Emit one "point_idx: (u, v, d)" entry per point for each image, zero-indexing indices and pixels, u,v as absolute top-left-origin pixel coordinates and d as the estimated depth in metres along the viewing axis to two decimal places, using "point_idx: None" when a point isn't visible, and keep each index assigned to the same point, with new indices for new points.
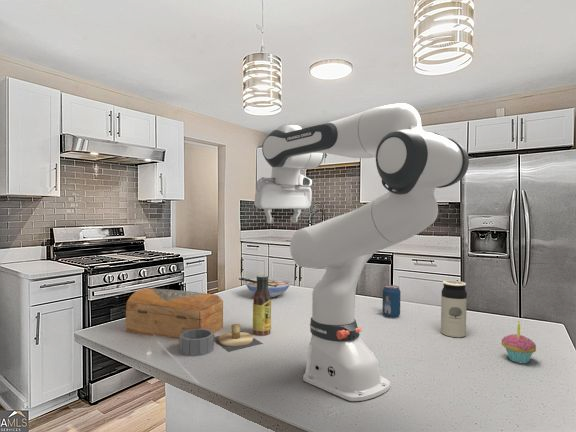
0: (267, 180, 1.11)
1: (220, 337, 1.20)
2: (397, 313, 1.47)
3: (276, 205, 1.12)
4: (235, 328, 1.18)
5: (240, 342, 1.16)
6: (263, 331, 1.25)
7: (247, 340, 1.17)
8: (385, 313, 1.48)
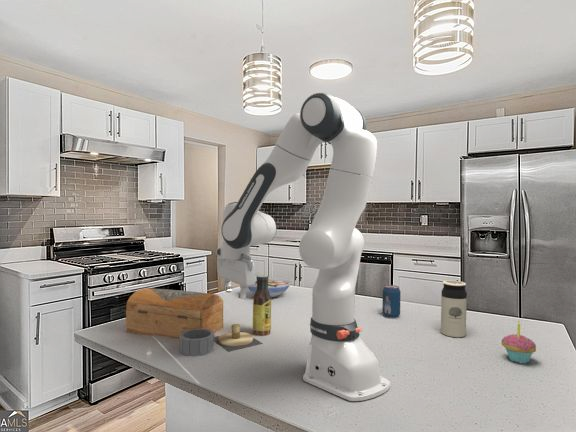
0: None
1: (220, 337, 1.20)
2: (397, 313, 1.47)
3: None
4: (235, 328, 1.18)
5: (240, 342, 1.16)
6: (263, 331, 1.25)
7: (247, 340, 1.17)
8: (385, 313, 1.48)
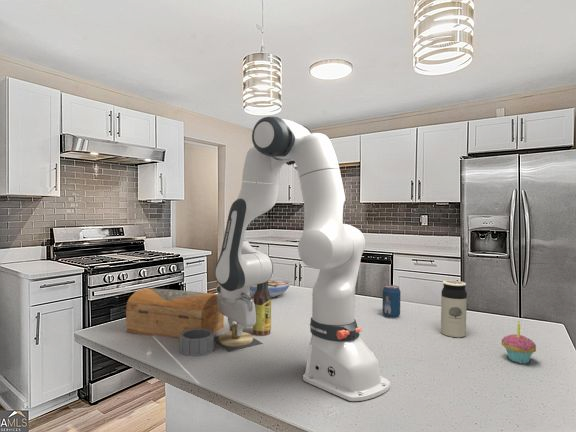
0: None
1: (220, 337, 1.20)
2: (397, 313, 1.47)
3: None
4: (235, 328, 1.18)
5: (240, 342, 1.16)
6: (263, 331, 1.25)
7: (247, 340, 1.17)
8: (385, 313, 1.48)
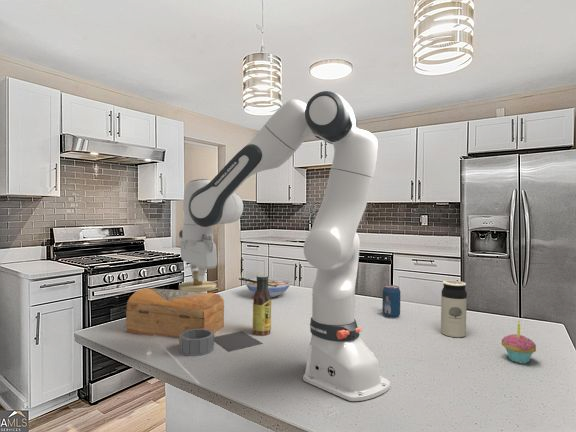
0: None
1: (180, 284, 1.12)
2: (397, 313, 1.47)
3: None
4: (197, 274, 1.11)
5: (201, 287, 1.08)
6: (263, 331, 1.25)
7: (209, 286, 1.10)
8: (385, 313, 1.48)
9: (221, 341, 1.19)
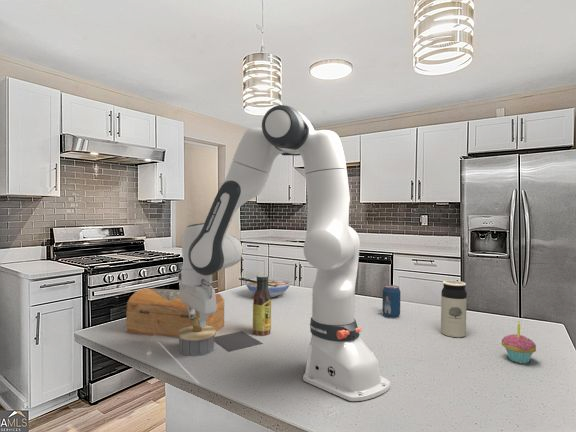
0: None
1: (180, 330, 1.12)
2: (397, 313, 1.47)
3: None
4: (196, 321, 1.11)
5: (200, 335, 1.08)
6: (263, 331, 1.25)
7: (208, 333, 1.10)
8: (385, 313, 1.48)
9: (221, 341, 1.19)
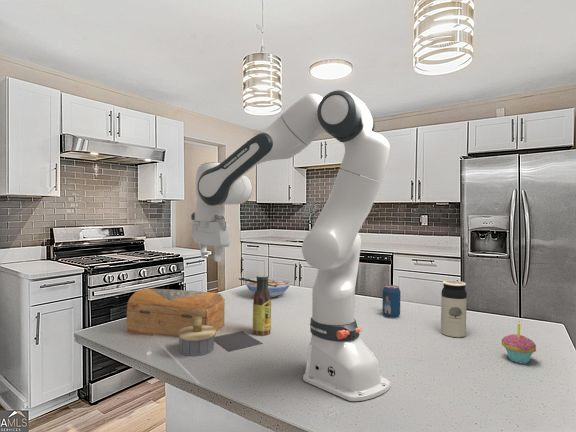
0: None
1: (180, 330, 1.12)
2: (397, 313, 1.47)
3: None
4: (196, 321, 1.11)
5: (200, 335, 1.08)
6: (263, 331, 1.25)
7: (208, 333, 1.10)
8: (385, 313, 1.48)
9: (221, 341, 1.19)
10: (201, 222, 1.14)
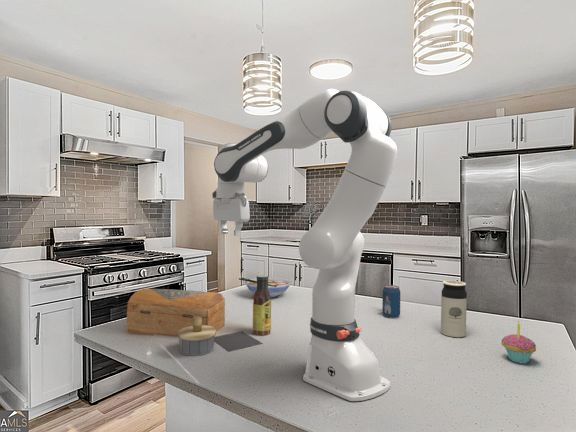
0: None
1: (180, 330, 1.12)
2: (397, 313, 1.47)
3: None
4: (196, 321, 1.11)
5: (200, 335, 1.08)
6: (263, 331, 1.25)
7: (208, 333, 1.10)
8: (385, 313, 1.48)
9: (221, 341, 1.19)
10: (222, 199, 1.22)
